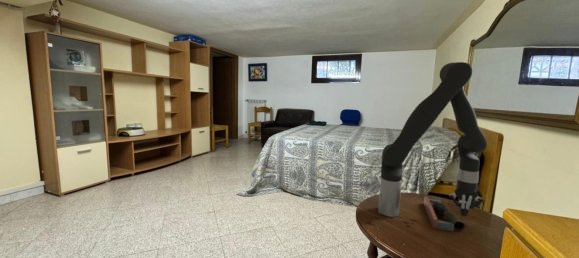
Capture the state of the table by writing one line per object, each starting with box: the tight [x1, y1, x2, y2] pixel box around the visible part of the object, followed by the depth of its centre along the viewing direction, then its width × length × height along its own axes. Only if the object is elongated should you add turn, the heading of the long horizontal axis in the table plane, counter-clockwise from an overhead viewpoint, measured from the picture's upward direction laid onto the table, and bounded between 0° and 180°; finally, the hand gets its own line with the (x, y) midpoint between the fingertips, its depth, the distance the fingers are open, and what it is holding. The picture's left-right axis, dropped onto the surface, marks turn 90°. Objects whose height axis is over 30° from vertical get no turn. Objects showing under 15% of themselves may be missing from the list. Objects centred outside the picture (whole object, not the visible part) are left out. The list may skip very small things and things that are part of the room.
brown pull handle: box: [423, 196, 455, 232], centre depth 111 cm, size 8×24×4 cm, turn 159°
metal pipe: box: [432, 202, 466, 231], centre depth 108 cm, size 18×7×6 cm, turn 176°
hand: (463, 215), depth 107 cm, fingers closed
